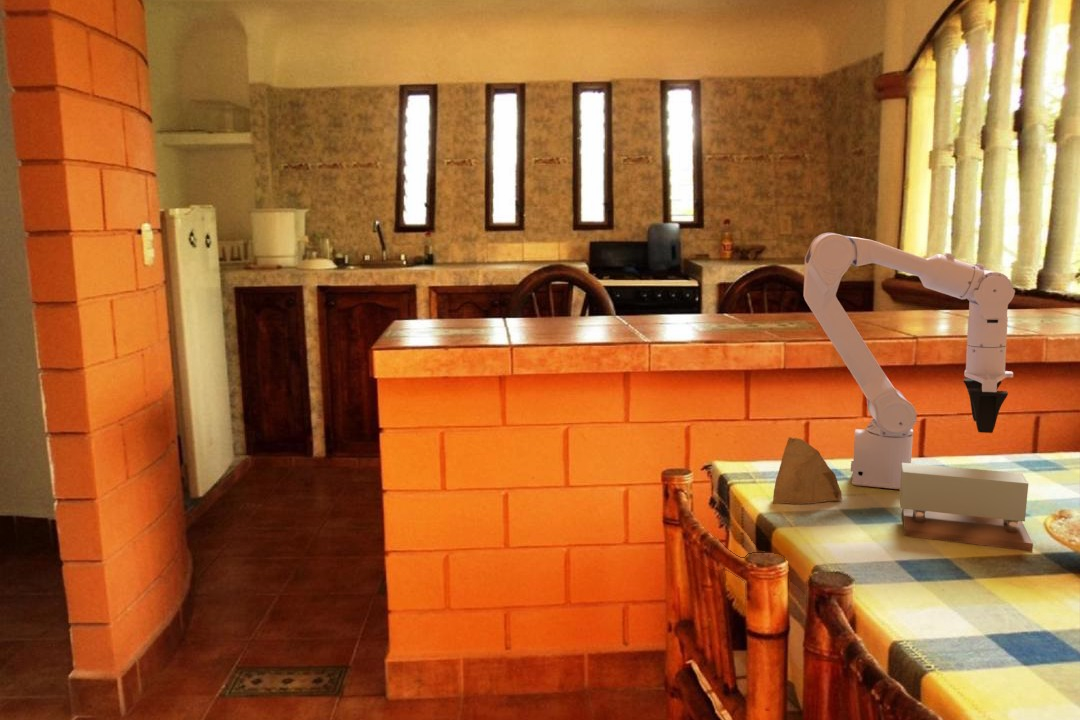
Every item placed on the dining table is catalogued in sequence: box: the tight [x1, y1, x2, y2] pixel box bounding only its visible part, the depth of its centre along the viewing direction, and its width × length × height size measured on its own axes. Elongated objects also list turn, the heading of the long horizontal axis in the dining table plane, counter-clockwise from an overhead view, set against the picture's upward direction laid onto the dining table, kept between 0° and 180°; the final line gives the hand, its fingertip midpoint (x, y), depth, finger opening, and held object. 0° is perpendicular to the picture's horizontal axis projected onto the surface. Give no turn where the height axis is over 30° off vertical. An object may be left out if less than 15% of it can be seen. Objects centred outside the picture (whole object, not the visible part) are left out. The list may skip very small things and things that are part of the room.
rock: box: [772, 436, 843, 505], centre depth 138 cm, size 11×9×10 cm
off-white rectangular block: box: [899, 462, 1029, 522], centre depth 125 cm, size 16×5×6 cm, turn 70°
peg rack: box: [901, 509, 1034, 551], centre depth 126 cm, size 16×11×3 cm
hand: (982, 426), depth 143 cm, fingers open, 7 cm apart
